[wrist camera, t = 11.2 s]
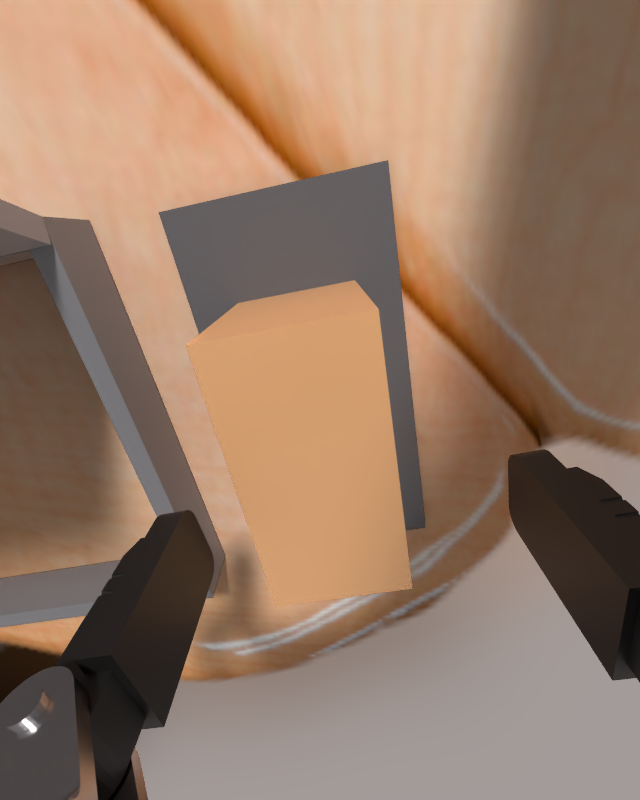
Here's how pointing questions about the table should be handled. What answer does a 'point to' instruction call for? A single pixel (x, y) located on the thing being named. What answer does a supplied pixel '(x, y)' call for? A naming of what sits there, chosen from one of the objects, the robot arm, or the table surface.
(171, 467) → the case
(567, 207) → the table surface
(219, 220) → the rubber mat
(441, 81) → the table surface
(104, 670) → the robot arm
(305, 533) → the block
